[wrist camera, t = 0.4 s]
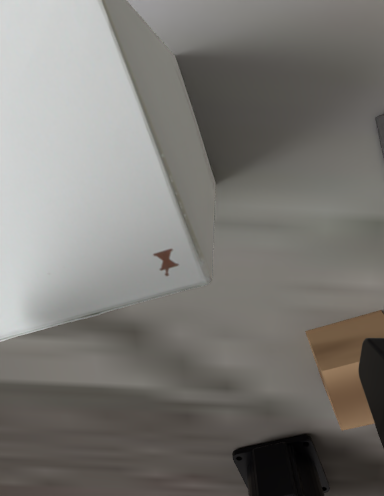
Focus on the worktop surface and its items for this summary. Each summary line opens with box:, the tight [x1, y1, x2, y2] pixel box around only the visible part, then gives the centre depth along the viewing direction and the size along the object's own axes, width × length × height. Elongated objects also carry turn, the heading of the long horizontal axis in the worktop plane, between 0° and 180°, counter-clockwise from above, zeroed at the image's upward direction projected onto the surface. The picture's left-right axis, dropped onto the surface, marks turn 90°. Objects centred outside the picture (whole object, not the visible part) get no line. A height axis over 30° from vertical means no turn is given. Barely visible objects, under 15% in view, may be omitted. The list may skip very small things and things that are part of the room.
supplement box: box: [0, 0, 216, 341], centre depth 14 cm, size 7×7×13 cm
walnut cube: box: [305, 310, 384, 430], centre depth 22 cm, size 5×5×4 cm
